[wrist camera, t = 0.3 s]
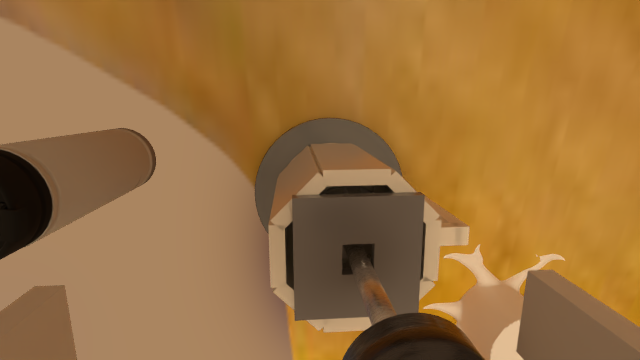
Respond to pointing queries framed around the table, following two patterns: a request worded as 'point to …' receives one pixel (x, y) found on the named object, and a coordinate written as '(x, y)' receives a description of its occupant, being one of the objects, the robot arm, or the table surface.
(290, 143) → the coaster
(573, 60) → the table surface
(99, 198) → the travel mug
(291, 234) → the carafe
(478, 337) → the tree stump
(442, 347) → the plunger
